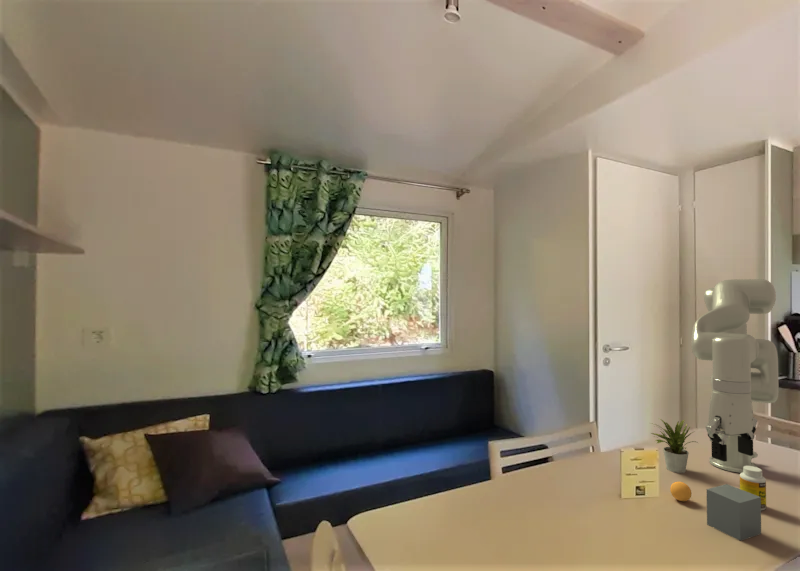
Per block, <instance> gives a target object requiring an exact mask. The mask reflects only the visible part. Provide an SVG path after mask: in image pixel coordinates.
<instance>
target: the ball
mask: <svg viewBox="0 0 800 571" xmlns="http://www.w3.org/2000/svg"><path fill="white" fill-rule="evenodd" d="M669 492H670V494H671V496H672V497H673V498H674V499H675V500H678V501H679V502H687V501H689V500H690V499H691V498H692V490H691V487H689V485H688V484H687V483H685V482H682V481H676V482H675V481H674V482H673V483H671V485H670V491H669Z"/></svg>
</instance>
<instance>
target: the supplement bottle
mask: <svg viewBox="0 0 800 571" xmlns="http://www.w3.org/2000/svg"><path fill="white" fill-rule="evenodd" d="M739 489H741V490H744V491H746V492H749V493H751V494H754V495H756V496H759V497H761V511H764V510H766V508H767V479H766V478H765V476H763V469H761V468H759V467H758V466H757V467H754V466H744V467H743V472H742V473H739Z"/></svg>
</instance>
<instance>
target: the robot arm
mask: <svg viewBox="0 0 800 571" xmlns="http://www.w3.org/2000/svg"><path fill="white" fill-rule="evenodd" d="M776 293H777V292H776V289H775V287H774V285H773V283H772V282H770V281H769V280H767V279H762V278H753V279H752V278H749V279H747V278H744V279H743V278H741V279H740V278H739V279H725V280H721V281H719V282H717V283H716V284H715V286H714V287H711V288H708V289H706V290H705V291H704V294H703V300H704V304H705V307H706V309H707V311H708V312H706V313H704V314H702V315H701V316H700V317H699V318H697V320H696V321H695V323H694V324H693V326H692V331H691V339H690V340H691V342H690V346H691V347H690V349H691V351H692V352H691V353H692V354H693V356H694V357H695V358H697V359H699V360H702V361H710V362H711V361H712V374H711V375H710V380H709V381H710V387H711V393H710V394H711V395H710V399H709V406H708V423H707V424H706V425H705V430H706V432H707V436H708V438H709V441H710V442H711V456H710V457H709V463H710V464H711V465H712V466H714V467H716V468H718V469H721V470H725V471H728V472H732V473H739V474H740V473H742V472H743V467H744V466H754V467H757V468H758V466H757V464H755V463H754V462H752V459H756V458H758V456H759V455H758V453H757V451H754V439H755V433H756V431H757V430H756V429H757V427H756V426H757V423H758V419H757V418H755V417H754V412H753V403H761V404H774V403H775V402H777V400H778V398H779V394H780V393H779V391H780V389H779V388H780V387H779V358H778V357H779V355H778V349H777V347H776V346H777V345H775V343H774V342H773V341H771V340H769V339H766V338H765V339H764V338H756V337H754V336H753V335H750V334H748V329H747V328H748V324H747V323H748V321H749V320H750V314H753V315H754V314H755V315H762V314H763V315H764V314H765V315H766V314H769V313H770V312H771V311H773V309H774V306H775V303H776V299H777V298H776V297H777V295H776ZM751 369H755V370H758V371H759V372H758V371H752V370H751ZM752 402H753V403H752Z"/></svg>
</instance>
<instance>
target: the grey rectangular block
mask: <svg viewBox="0 0 800 571" xmlns="http://www.w3.org/2000/svg"><path fill="white" fill-rule="evenodd" d="M706 525H707V526H710V527H712V528H713V527H714V529H716V530H717V531H719V532H721V533H722V534H723V533H724V534H726V535H728V536H730V537H732V538H733V539H736V540H738V541H740V542H741V541H743V540H747V539H750V538H753V537H756V536H759V535H761V534H762V510H761V497H759V496H756V495H754V494H751V493H749V492H746V491H744V490H741V489H740V488H738V487H735V486H733V485H730V484H728V483H726V484H721V485H718V486H714V487H713V486H712V487H709V488H706Z"/></svg>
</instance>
